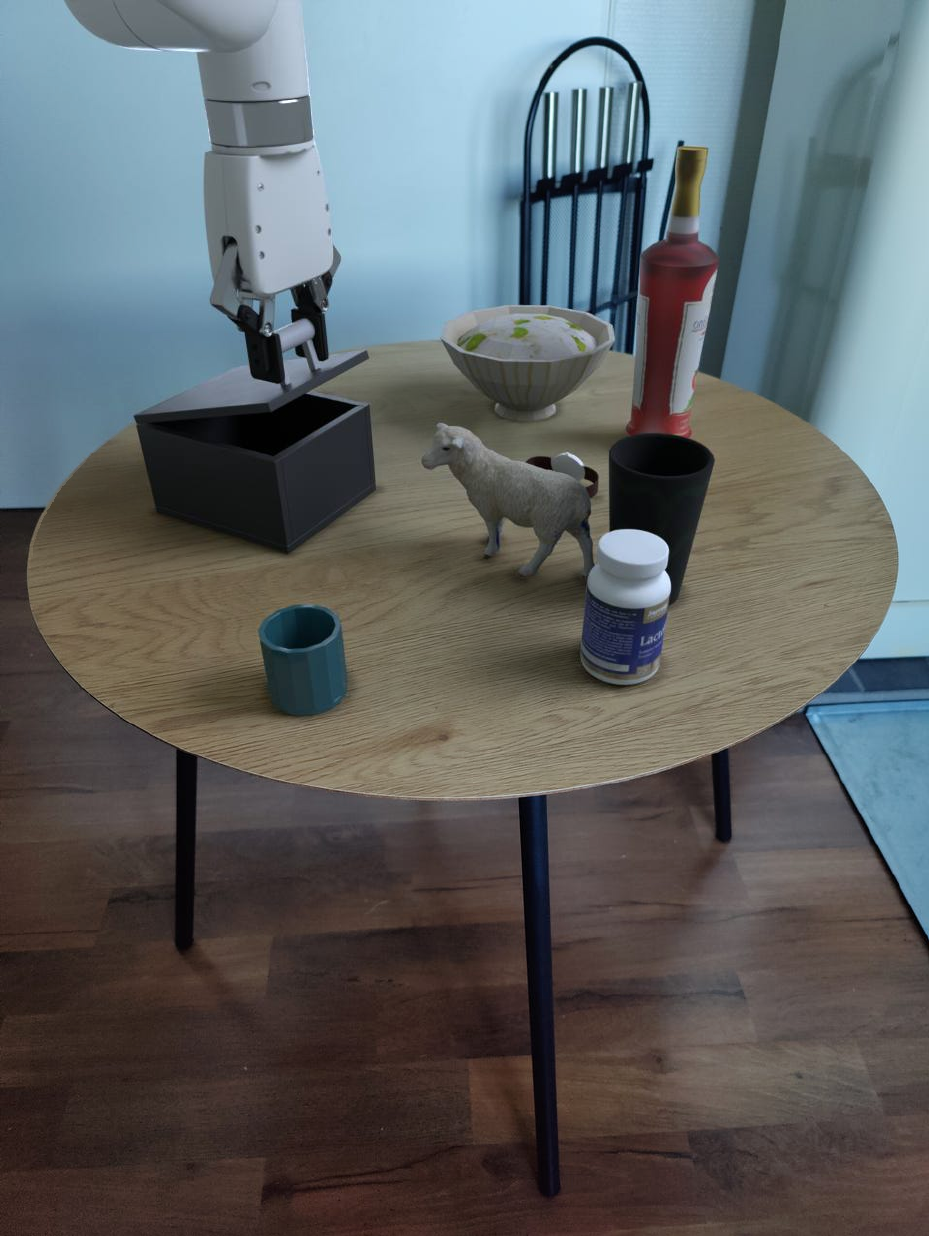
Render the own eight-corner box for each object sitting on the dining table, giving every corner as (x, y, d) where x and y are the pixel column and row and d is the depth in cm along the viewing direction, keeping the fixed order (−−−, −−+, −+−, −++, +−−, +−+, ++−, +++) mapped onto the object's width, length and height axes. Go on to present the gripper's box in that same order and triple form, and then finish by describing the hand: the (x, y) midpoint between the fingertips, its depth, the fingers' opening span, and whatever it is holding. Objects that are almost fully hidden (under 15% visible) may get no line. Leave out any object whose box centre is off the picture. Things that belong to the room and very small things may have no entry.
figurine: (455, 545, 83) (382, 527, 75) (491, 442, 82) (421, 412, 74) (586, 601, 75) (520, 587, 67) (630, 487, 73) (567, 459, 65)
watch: (606, 491, 87) (609, 456, 85) (584, 511, 84) (587, 476, 82) (536, 472, 91) (537, 438, 89) (512, 491, 88) (513, 456, 86)
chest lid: (369, 358, 80) (353, 301, 78) (271, 412, 71) (249, 348, 69) (239, 374, 89) (221, 323, 87) (136, 424, 80) (112, 368, 77)
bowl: (407, 406, 105) (402, 319, 99) (527, 365, 115) (529, 284, 109) (523, 461, 93) (525, 366, 87) (645, 410, 103) (655, 322, 97)
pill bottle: (651, 695, 63) (668, 575, 57) (571, 678, 65) (580, 559, 59) (665, 648, 67) (683, 531, 61) (590, 632, 69) (600, 517, 63)
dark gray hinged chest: (376, 489, 88) (369, 403, 83) (288, 554, 79) (274, 461, 73) (251, 456, 95) (238, 374, 89) (156, 512, 85) (135, 424, 80)
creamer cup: (275, 723, 61) (264, 659, 58) (265, 674, 65) (253, 612, 62) (354, 707, 62) (347, 643, 59) (339, 659, 67) (332, 597, 63)
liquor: (633, 423, 100) (663, 139, 84) (699, 434, 98) (743, 144, 81) (613, 449, 95) (640, 151, 79) (682, 462, 92) (725, 156, 76)
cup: (650, 629, 69) (669, 488, 62) (577, 588, 74) (586, 453, 67) (712, 591, 73) (736, 455, 66) (638, 554, 78) (653, 423, 71)
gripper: (294, 109, 74) (317, 333, 84) (135, 138, 62) (185, 394, 72) (370, 114, 70) (384, 346, 81) (218, 145, 58) (258, 412, 69)
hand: (290, 366), depth 76 cm, fingers closed on chest lid, 5 cm apart
